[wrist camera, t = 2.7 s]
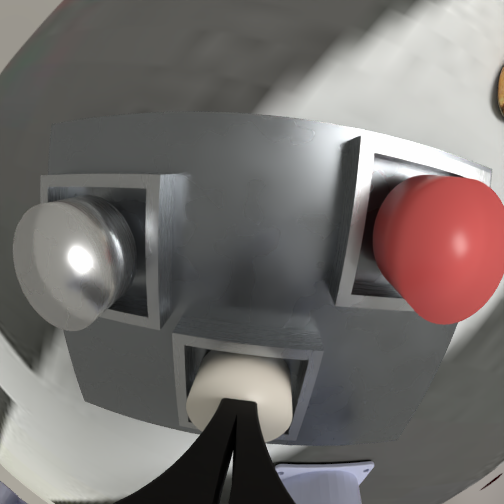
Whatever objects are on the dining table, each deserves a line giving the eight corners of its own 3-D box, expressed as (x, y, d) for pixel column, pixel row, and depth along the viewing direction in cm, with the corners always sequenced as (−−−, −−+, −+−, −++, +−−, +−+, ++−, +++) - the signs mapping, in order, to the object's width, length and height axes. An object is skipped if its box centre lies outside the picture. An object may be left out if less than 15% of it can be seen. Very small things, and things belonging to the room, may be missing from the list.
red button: (454, 295, 9) (487, 324, 7) (361, 288, 10) (383, 322, 7) (477, 188, 8) (519, 196, 6) (382, 162, 8) (416, 161, 6)
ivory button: (282, 412, 13) (282, 449, 11) (199, 402, 13) (188, 436, 11) (298, 347, 12) (302, 384, 10) (198, 335, 12) (183, 369, 10)
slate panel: (391, 425, 15) (402, 456, 13) (94, 388, 16) (74, 414, 14) (474, 168, 11) (512, 171, 8) (69, 126, 12) (31, 122, 9)
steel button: (139, 310, 11) (110, 344, 8) (58, 292, 11) (24, 315, 8) (137, 197, 9) (98, 206, 7) (50, 194, 10) (8, 202, 7)
